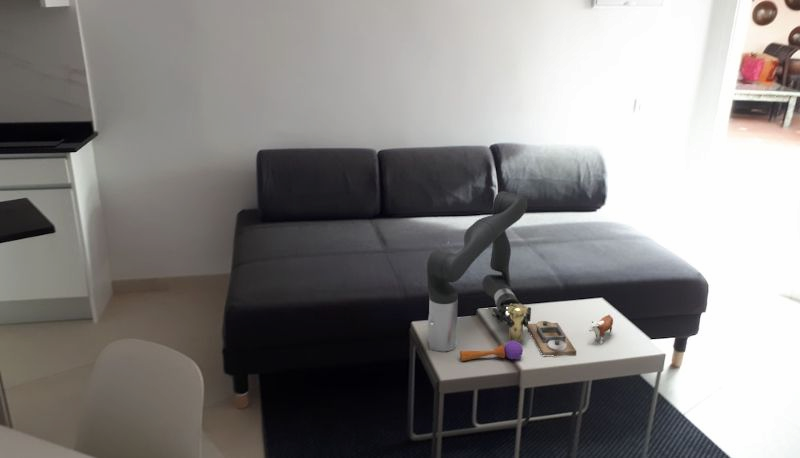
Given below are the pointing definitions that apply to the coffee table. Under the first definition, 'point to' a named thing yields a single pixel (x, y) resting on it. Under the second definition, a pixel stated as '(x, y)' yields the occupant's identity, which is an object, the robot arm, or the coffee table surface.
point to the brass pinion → (516, 321)
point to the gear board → (551, 339)
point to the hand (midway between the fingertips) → (518, 324)
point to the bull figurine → (602, 327)
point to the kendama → (496, 352)
